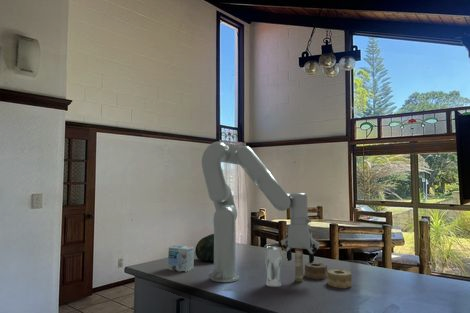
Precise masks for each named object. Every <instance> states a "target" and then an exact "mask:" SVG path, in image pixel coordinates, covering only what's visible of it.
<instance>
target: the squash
mask: <svg viewBox="0 0 470 313" xmlns="http://www.w3.org/2000/svg"><path fill="white" fill-rule="evenodd" d="M194 254H195V256H196V258H197V259H198V260H200V261H201V262H204V261H211V262H214V233H211V234H209V235H206V236H204V237H202V238H200V239H199V240H198V242H197V244H196V246H195V248H194Z"/></svg>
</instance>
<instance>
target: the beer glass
mask: <svg viewBox="0 0 470 313" xmlns="http://www.w3.org/2000/svg"><path fill="white" fill-rule="evenodd" d="M282 248H283V247H280V246H275V245H274V246H266V247H265V253H264V260H265V269H266V276H267V278H266V282H265V283H266V286H267V287H269V288H270V287H271V288H279V287H281V286H282V283H281V271H282V270H281V269H282V265H283V264H282V263H283V251H282Z"/></svg>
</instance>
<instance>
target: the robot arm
mask: <svg viewBox="0 0 470 313" xmlns="http://www.w3.org/2000/svg"><path fill="white" fill-rule="evenodd" d="M201 156H202V157H201V169H202V173H203V176H204V180H205V185H206V189H207V194H208V197H209V199H210V201H211V202H213V206H214V209H215V211H214V213H213V218H212V219H213V222H212V223H213V234H214V261H213V269H212V272H211V273H209V274H208V276H207V277H208V279H209V280H211V281H213V282H217V283H232V282H233V283H234V282H236V281H238V280H240V279H239V278H240V276H239V274H237V273H236V256H237V255H236V254H237V253H236V246H237V245H236V240H237V239H236V232H237V231H236V222H237V221H236V220H237V218H238V211H237V208H236V203H235V200H234V196H233V191H232V189H231V186H229V185H228V184H227V182H226V180H225V176H224V172H223V169H222V165H221V163H226V164H233V165H239V167H241V169H243V171H244V173H245V174H247V175H248V178H250V180H251V181H252V182H253V184H255V186H256V187H257V188H258V189H259V190H260V191H261V192H262V193H263V195H264V196H265V197H266V199H267V200H268V201H269V202H270V204H271V205H272V206H273V207H274V208H275V209H276V210H277V211H279V212H280V211H281V212H284V211H286V210H288V209H289V213H290V214H289V216H290V217H289V218H290V223H289V224H288V229H287V237H286V238H284V239H282V240H280V243H281V246H282V248H283V249H284V250H285V253H286V259H287V261H288V262H290V261H292V259H293V256H292V254H293V253H292V250H291V249H295V248H300V249H303V250H307V251H308V253H309V254H308V263H310V264H311V263H313V262H314V261H315V252H317V251H318V250H319V248H320V245H321V243H320V242H319V241H317V240H315V239H313V233H312V228H311V224H309V223H312V219H310V218H309V215H308V214H309V211H308V210H309V209H308V195H307V193H305V192H292V193H289V192H288V193H287V192H286V191H285V190H284V189H283V187H282V186H281V185H280V184H279V183H278V181H277V180H276V179H275V177H274V176H273V174H272V173H271V171H270V170H269V169H268V167H267V166H266V165H265V164H264V163H263V161H262V160H261V159H260V158H259V156H258V155H257V154H256V153H255V152H254V150H253V149H252V148H251V147H250V146H249V145H242V146H236V145H230V144H229V145H228V144H225V143H224V142H222V141H215V142H211V143H210V144H209V145H208V146H207V147H206V148H205V149H204V152H203V153H202V155H201ZM286 242H287V244H286ZM313 245H314V247H313Z"/></svg>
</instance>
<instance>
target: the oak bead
mask: <svg viewBox="0 0 470 313" xmlns="http://www.w3.org/2000/svg"><path fill="white" fill-rule="evenodd" d="M327 284H328V286H330V287H332V288H337V289H338V288H339V289H347V288H350V287H352V273H351V271H348V270H345V269H338V268H337V269H335V268H332V269H329V270H328V269H327Z"/></svg>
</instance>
